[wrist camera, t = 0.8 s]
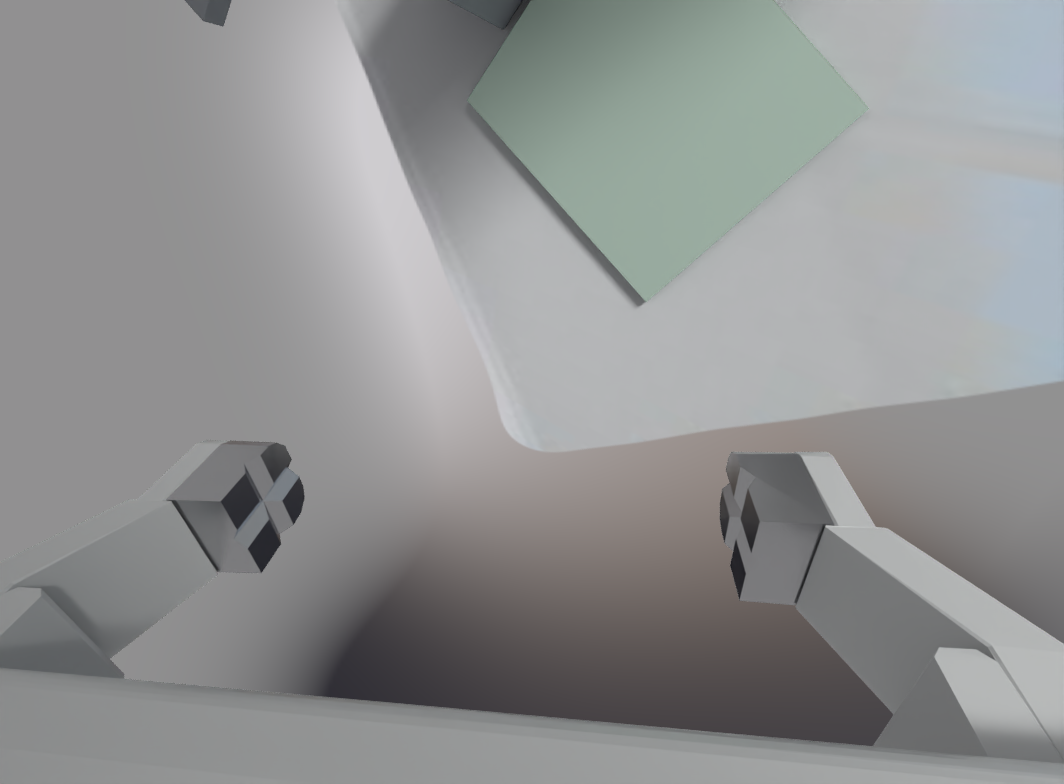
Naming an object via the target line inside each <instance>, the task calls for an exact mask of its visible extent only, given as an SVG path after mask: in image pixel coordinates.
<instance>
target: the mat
mask: <svg viewBox="0 0 1064 784" xmlns="http://www.w3.org/2000/svg"><path fill="white" fill-rule="evenodd" d="M467 101H468V102H469V103H470V105H471V106H472V107H473V108H474V109H475V110H476V111H477V112H478V114H479V115H480V116H481V117H482V118H483V119H484V120H485V121H486V123H487V124H488V125H489V126H490V127H491V128H492V129H493V130H494V132H495V133H496V134H497V135H498V136H499V137H500V138H501V139H502V141H503V142H504V143H505V144H506V145H507V146H508V147H509V148H510V150H511V151H512V152H513V153H514V154H515V155H516V156H517V157H518V159H519V160H520V161H521V162H522V163H523V164H524V165H525V166H526V168H527V169H528V170H529V171H530V172H531V173H532V174H533V175H534V177H535V178H536V179H537V180H538V181H539V182H540V183H541V184H542V186H543V187H544V188H545V189H546V190H547V191H548V192H549V193H550V195H551V196H552V197H553V198H554V199H555V200H556V201H557V202H558V204H559V205H560V206H561V207H562V208H563V209H564V210H565V211H566V213H567V214H568V215H569V216H570V217H571V218H572V219H573V220H574V222H575V223H576V224H577V225H578V226H579V227H580V228H581V229H582V231H583V232H584V233H585V234H586V235H587V236H588V237H589V238H590V240H591V241H592V242H593V243H594V244H595V245H596V246H597V247H598V249H599V250H600V251H601V252H602V253H603V254H604V255H605V256H606V258H607V259H608V260H609V261H610V262H611V263H612V264H613V265H614V267H615V268H616V269H617V270H618V271H619V272H620V273H621V274H622V276H623V277H624V278H625V279H626V280H627V281H628V282H629V283H630V285H631V286H632V287H633V288H634V289H635V290H636V291H637V292H638V294H639V295H640V296H641V297H642V298H643V299H644V300H645V301H646V302H647V301H648V300H649V299H651V298H652V297H653V296H654V295H655V294H656V293H657V292H659V291H660V290H661V289H662V288H663V287H664V286H666V285H667V284H668V283H669V282H670V281H671V280H672V279H674V278H675V277H676V276H677V275H678V274H679V273H681V272H682V271H683V270H684V269H685V268H686V267H687V266H689V265H690V264H691V263H692V262H693V261H694V260H695V259H697V258H698V257H699V256H700V255H701V254H702V253H704V252H705V251H706V250H707V249H708V248H709V247H710V246H712V245H713V244H714V243H715V242H716V241H717V240H718V239H720V238H721V237H722V236H723V235H724V234H725V233H727V232H728V231H729V230H730V229H731V228H732V227H733V226H735V225H736V224H737V223H738V222H739V221H740V220H742V219H743V218H744V217H745V216H746V215H747V214H748V213H750V212H751V211H752V210H753V209H754V208H755V207H756V206H758V205H759V204H760V203H761V202H762V201H763V200H765V199H766V198H767V197H768V196H769V195H770V194H771V193H773V192H774V191H775V190H776V189H777V188H778V187H780V186H781V185H782V184H783V183H784V182H785V181H786V180H788V179H789V178H790V177H791V176H792V175H793V174H794V173H796V172H797V171H798V170H799V169H800V168H801V167H803V166H804V165H805V164H806V163H807V162H808V161H809V160H811V159H812V158H813V157H814V156H815V155H816V154H817V153H819V152H820V151H821V150H822V149H823V148H824V147H826V146H827V145H828V144H829V143H830V142H831V141H832V140H834V139H835V138H836V137H837V136H838V135H839V134H841V133H842V132H843V131H844V130H845V129H846V128H847V127H849V126H850V125H851V124H852V123H853V122H854V121H855V120H857V119H858V118H859V117H860V116H861V115H862V114H864V113H865V112H866V111H867V110H868V109H869V108H868V107H867V105H866V104H865V103H864V102H863V101H862V100H861V99H860V98H859V96H858V95H857V94H856V93H855V92H854V91H853V90H852V88H851V87H850V86H849V85H848V84H847V83H846V82H845V81H844V79H843V78H842V77H841V76H840V75H839V74H838V73H837V72H836V70H835V69H834V68H833V67H832V66H831V65H830V64H829V62H828V61H827V60H826V59H825V58H824V57H823V56H822V55H821V53H820V52H819V51H818V50H817V49H816V48H815V47H814V45H813V44H812V43H811V42H810V41H809V40H808V39H807V38H806V36H805V35H804V34H803V33H802V32H801V31H800V30H799V28H798V27H797V26H796V25H795V24H794V23H793V22H792V21H791V19H790V18H789V17H788V16H787V15H786V14H785V13H784V11H783V10H782V9H781V8H780V7H779V6H778V5H777V4H776V2H775V1H774V0H531V1H530V2H529V4H528V6H527V7H526V9H525V10H524V12H523V13H522V15H521V17H520V18H519V20H518V21H517V23H516V24H515V26H514V27H513V29H512V31H511V32H510V34H509V35H508V37H507V38H506V40H505V42H504V43H503V45H502V46H501V48H500V49H499V51H498V52H497V54H496V56H495V57H494V59H493V60H492V62H491V63H490V65H489V67H488V68H487V70H486V71H485V73H484V74H483V76H482V77H481V79H480V81H479V82H478V84H477V85H476V87H475V88H474V90H473V92H472V93H471V95H470V96H469V98H468V99H467Z"/></svg>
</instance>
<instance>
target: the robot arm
mask: <svg viewBox="0 0 1064 784" xmlns="http://www.w3.org/2000/svg"><path fill="white" fill-rule="evenodd" d="M291 460H292V459H291V457H290V455H289V453H288V451H287V449H286V447H285V446H284V445H281V444H279V443H272V442H248V441H216V440H215V441H214V440H206V441H203V442H200V443H197V444H196V445H195V446H194V447H192V448H191V449H190V450H189V451H188V452H187V453H186V454H185V455H184V456H183V457H182V458H181V459H180V460H179V461H178V462H176V463H175V464H174V465H173V466H172V467H171V468H170V469H169V470H168V471H167V472H166V473H165V474H164V475H163V476H162V477H161V478H159V479H158V480H157V481H156V482H155V483H154V484H153V485H152V486H151V487H150V488H149V489H148V490H147V491H146V492H145V493H144V494H143V495H142V496H141V497H139V498H138V499H137V500H127V501H125V502H123V503H121V504H119V505H117V506H115V507H113V508H111V509H109V510H107V511H105V512H103V513H101V514H99V515H96V516H94V517H92V518H90V519H88V520H86V521H84V522H82V523H80V524H78V525H76V526H74V527H72V528H70V529H68V530H66V531H63V532H62V533H59V534H57V535H55V536H53V537H51V538H49V539H47V540H45V541H43V542H41V543H39V544H37V545H35V546H33V547H31V548H28V549H26V550H24V551H22V552H20V553H18V554H16V555H14V556H12V557H10V558H8V559H6V560H4V561H2V562H0V784H1064V644H1063V643H1061V642H1060V641H1058V640H1057V639H1055V638H1054V637H1052V636H1050V635H1049V634H1047V633H1046V632H1045V631H1043V630H1042V629H1040V628H1038V627H1037V626H1035V625H1034V624H1032V623H1031V622H1029V621H1028V620H1026V619H1025V618H1023V617H1022V616H1020V615H1019V614H1017V613H1016V612H1014V611H1013V610H1011V609H1009V608H1008V607H1006V606H1005V605H1003V604H1002V603H1000V602H999V601H997V600H996V599H994V598H993V597H991V596H990V595H988V594H987V593H985V592H983V591H982V590H980V589H979V588H977V587H976V586H974V585H973V584H971V583H970V582H968V581H967V580H965V579H964V578H962V577H961V576H959V575H957V574H956V573H954V572H953V571H951V570H950V569H948V568H947V567H945V566H944V565H942V564H941V563H939V562H938V561H936V560H934V559H933V558H931V557H930V556H929V555H927V554H926V553H924V552H922V551H921V550H919V549H918V548H916V547H915V546H913V545H912V544H910V543H909V542H907V541H906V540H904V539H903V538H901V537H900V536H898V535H897V534H895V533H894V532H892V531H890V530H889V529H887V528H876V527H875V525H874V523H873V522H872V520H871V518H870V517H869V515H868V514H867V512H866V510H865V508H864V507H863V505H862V503H861V502H860V500H859V498H858V497H857V495H856V493H855V492H854V490H853V489H852V487H851V485H850V483H849V482H848V480H847V478H846V477H845V475H844V473H843V472H842V470H841V468H840V467H839V465H838V464H837V462H836V460H835V458H834V457H833V456H832V455H831V454H829V453H828V452H795V453H775V452H772V453H771V452H769V453H768V452H731V454H730V456H729V458H728V462H727V466H726V472H727V476H728V479H729V482H730V483H729V484H728V485H727V486H725V487H724V488H723V489H722V494H721V500H720V524H721V531H722V535H723V539H724V543H725V544H726V545H727V546H728V547H729V548H730V549H731V550H733V554H732V559H731V564H730V567H731V570H732V574H733V578H734V582H735V585H736V589H737V593H738V597H739V600H740V601H751V602H763V603H775V604H788V605H796V609H797V610H798V611H799V612H800V613H801V614H802V615H803V617H805V619H806V620H807V621H808V622H809V623H810V624H811V625H812V626H813V627H814V628H815V629H816V631H817V632H818V633H819V634H820V635H821V636H822V637H823V638H824V639H825V640H826V641H827V643H828V644H829V645H830V646H831V647H832V648H833V649H834V650H835V651H836V652H837V653H838V654H839V656H840V657H841V658H842V659H843V660H844V661H845V662H846V663H847V664H848V665H849V666H850V667H851V669H852V670H853V671H854V672H855V673H856V674H857V675H858V676H859V677H860V678H861V679H862V680H863V682H864V683H865V684H866V685H867V686H868V687H869V688H870V689H871V690H872V691H873V692H874V694H875V695H876V696H877V697H878V698H879V699H880V700H881V701H882V702H883V703H884V704H885V705H886V707H888V708H889V710H890V711H891V712H892V713H893V714H894V716H893V717H892V718H891V720H890V721H889V723H888V725H887V726H886V727H885V729H884V730H883V732H882V733H881V735H880V736H879V738H878V739H877V741H876V742H875V744H874V745H873V746H862V745H850V744H840V743H828V742H816V741H806V740H795V739H784V738H773V737H762V736H751V735H740V734H729V733H717V732H706V731H695V730H683V729H673V728H662V727H651V726H640V725H629V724H618V723H607V722H596V721H585V720H574V719H563V718H552V717H541V716H530V715H519V714H508V713H497V712H486V711H474V710H464V709H453V708H442V707H430V706H420V705H408V704H398V703H387V702H375V701H364V700H353V699H342V698H331V697H330V698H329V697H319V696H308V695H297V694H286V693H275V692H264V691H263V692H262V691H253V690H252V691H251V690H242V689H231V688H230V689H229V688H219V687H208V686H197V685H186V684H175V683H164V682H153V681H141V680H129V679H124V673H123V672H122V671H121V670H120V669H119V668H118V667H117V666H116V665H115V664H114V663H113V662H112V661H111V660H110V658H112V657H113V656H114V655H115V654H117V653H118V652H119V651H121V650H122V649H123V648H124V647H126V646H127V645H128V644H130V643H131V642H132V641H133V640H135V639H136V638H137V637H139V636H140V635H141V634H142V633H144V632H145V631H146V630H148V629H149V628H150V627H151V626H153V625H154V624H155V623H157V622H158V621H159V620H160V619H161V618H163V617H164V616H166V615H167V614H168V613H169V612H171V611H172V610H173V609H175V608H176V607H177V606H178V605H180V604H181V603H182V602H184V601H185V600H186V599H187V598H189V597H190V596H191V595H192V594H194V593H195V592H196V591H198V590H199V589H200V588H202V587H203V586H204V585H205V584H207V583H208V582H209V581H211V580H212V579H213V578H215V577H216V576H217V575H218V572H233V573H234V572H235V573H262V572H263V570H264V569H265V567H266V566H267V564H268V563H269V561H270V560H271V558H272V557H273V555H274V554H275V552H276V551H277V549H278V548H279V546H280V545H281V540H280V533H282V532H283V531H285V530H286V529H288V528H289V527H291V526H292V525H294V523H295V521H296V520H297V518H298V517H299V515H300V513H301V511H302V506H303V502H304V489H303V485H302V482H301V480H300V477H299V476H298V475H296V474H295V473H294V472H293V471H291V470H290V469H289V468H288V467H289V464H290V462H291Z"/></svg>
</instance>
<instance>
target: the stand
mask: <svg viewBox="0 0 1064 784" xmlns="http://www.w3.org/2000/svg"><path fill="white" fill-rule="evenodd" d="M185 1H186V2H187V3H188V5H189V6H190V7H191V8H192V9H193V10H194V11H195V12H196V14H198V16H199V17H200V18H201V19H202V20H203V21H205V22H209V23H213V24H216V25H220V26H223V25H224V23H225V19H226V16H227V13H228V10H229V7H230V3H231V0H185ZM449 1H450V2H452V3H454V4H456V5H458V6H460V7H462V8H464V9H465V10H467V11H469V12H471V13H473V14H475V15H477V16H478V17H480V18H482V19H484V20H486V21H488V22H490V23H492V24H493V25H495V26H497V27H499V28H501V29H503V30H504V28H505V26H506V25H507V23H508V22H509V20H510V18H511V17H512V15H513V14H514V12H515V11H516V9H517V7H518V6H519V4H520V3H521V1H522V0H449Z"/></svg>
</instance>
